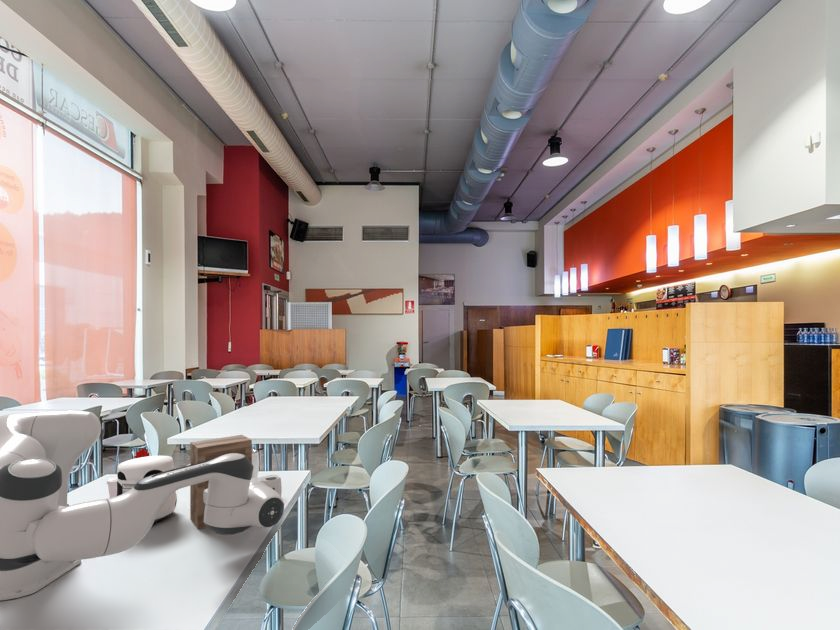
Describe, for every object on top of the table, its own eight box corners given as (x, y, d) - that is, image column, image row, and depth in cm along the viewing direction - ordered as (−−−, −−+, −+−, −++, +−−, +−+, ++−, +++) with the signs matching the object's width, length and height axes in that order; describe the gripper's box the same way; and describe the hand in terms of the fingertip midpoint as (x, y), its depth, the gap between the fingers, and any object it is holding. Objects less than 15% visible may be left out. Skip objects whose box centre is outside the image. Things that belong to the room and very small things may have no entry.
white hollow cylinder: (238, 492, 170) (238, 451, 170) (258, 489, 173) (258, 449, 173) (239, 498, 163) (239, 455, 164) (260, 495, 166) (260, 453, 167)
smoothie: (133, 503, 160) (133, 463, 161) (119, 511, 154) (119, 468, 154) (116, 503, 161) (116, 462, 161) (101, 510, 154) (101, 468, 155)
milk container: (172, 504, 159) (172, 451, 160) (181, 520, 145) (181, 462, 146) (111, 517, 149) (111, 461, 149) (115, 535, 135) (115, 473, 135)
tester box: (252, 515, 148) (251, 439, 149) (198, 529, 138) (197, 448, 139) (242, 506, 156) (241, 434, 157) (190, 519, 146) (190, 442, 147)
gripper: (210, 517, 119) (196, 502, 130) (286, 498, 132) (268, 486, 143) (210, 492, 120) (196, 480, 130) (286, 476, 132) (268, 465, 143)
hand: (235, 483), depth 137 cm, fingers closed
